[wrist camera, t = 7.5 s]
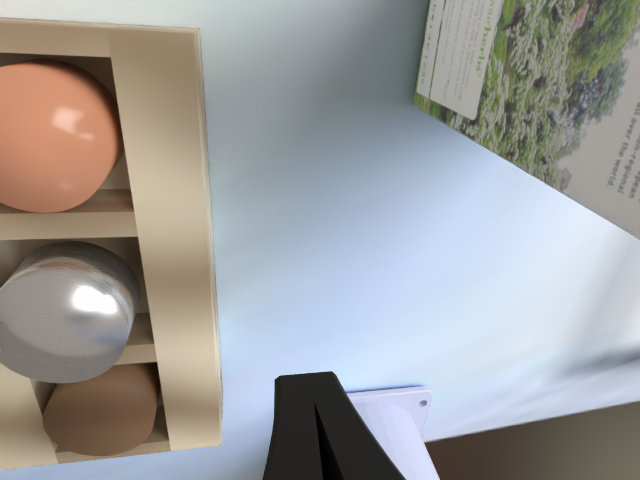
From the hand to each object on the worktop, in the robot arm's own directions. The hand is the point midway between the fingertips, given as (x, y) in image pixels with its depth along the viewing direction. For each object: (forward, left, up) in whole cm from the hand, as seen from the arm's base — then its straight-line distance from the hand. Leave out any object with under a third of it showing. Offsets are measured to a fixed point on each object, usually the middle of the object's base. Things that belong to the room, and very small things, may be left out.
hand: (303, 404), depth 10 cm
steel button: (-1, +7, -7) cm, 10 cm away
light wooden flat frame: (-1, +7, -9) cm, 12 cm away
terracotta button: (+5, +7, -8) cm, 12 cm away
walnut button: (-7, +7, -8) cm, 13 cm away
